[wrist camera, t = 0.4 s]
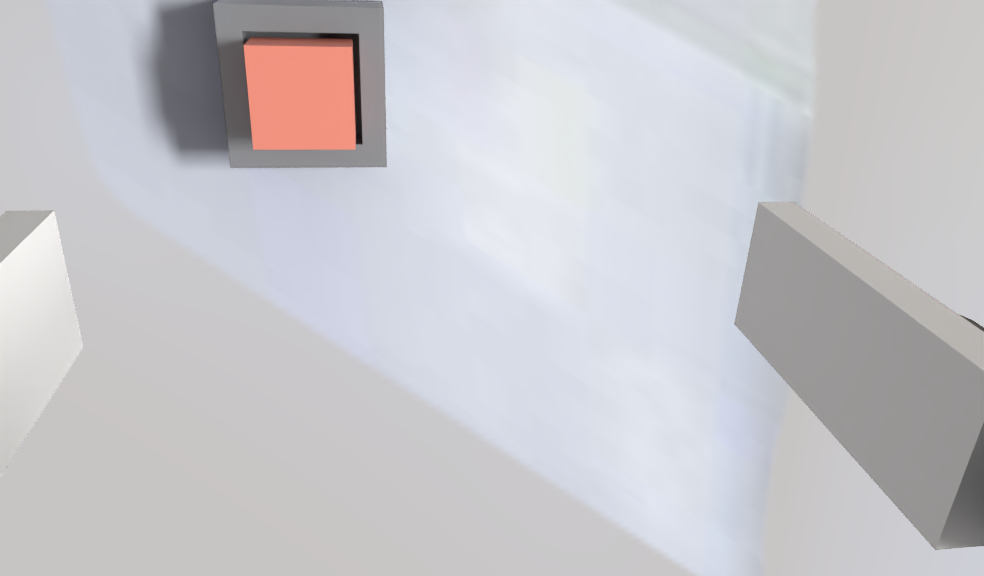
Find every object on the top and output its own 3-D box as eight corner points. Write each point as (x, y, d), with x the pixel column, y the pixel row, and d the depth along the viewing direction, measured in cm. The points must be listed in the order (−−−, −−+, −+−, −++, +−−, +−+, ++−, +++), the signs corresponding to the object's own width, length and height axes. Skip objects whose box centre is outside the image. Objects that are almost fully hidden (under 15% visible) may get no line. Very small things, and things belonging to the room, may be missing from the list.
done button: (251, 36, 34) (243, 45, 32) (352, 38, 35) (351, 47, 33) (260, 135, 36) (253, 149, 34) (355, 135, 37) (355, 149, 35)
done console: (223, -3, 36) (212, 3, 33) (382, 1, 37) (383, 7, 34) (239, 150, 39) (230, 167, 36) (385, 150, 40) (386, 167, 37)
